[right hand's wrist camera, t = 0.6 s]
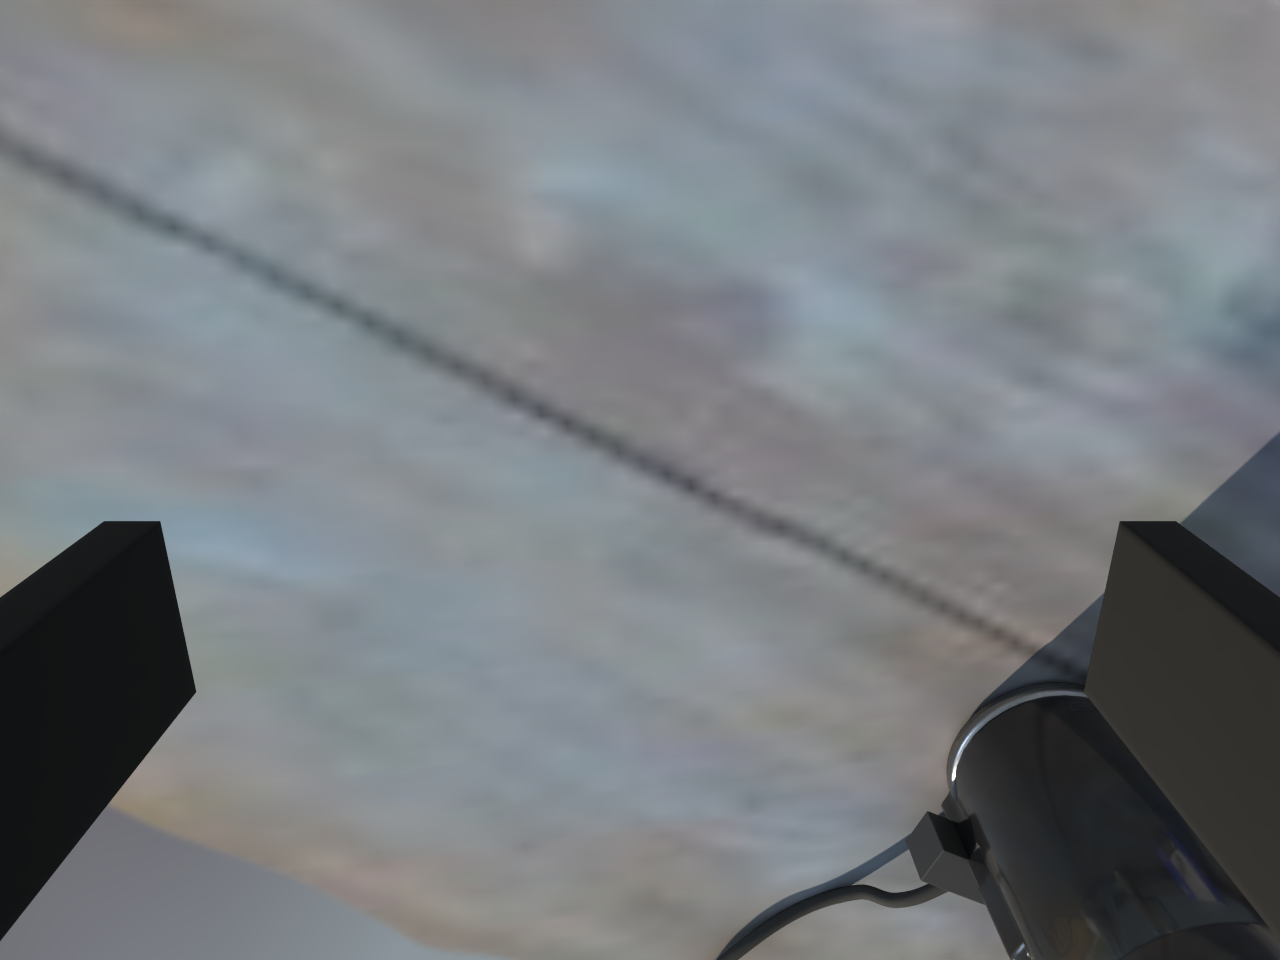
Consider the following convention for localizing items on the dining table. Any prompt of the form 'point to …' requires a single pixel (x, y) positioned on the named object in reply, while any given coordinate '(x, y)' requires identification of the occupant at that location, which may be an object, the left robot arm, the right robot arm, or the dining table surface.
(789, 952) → the dining table surface
